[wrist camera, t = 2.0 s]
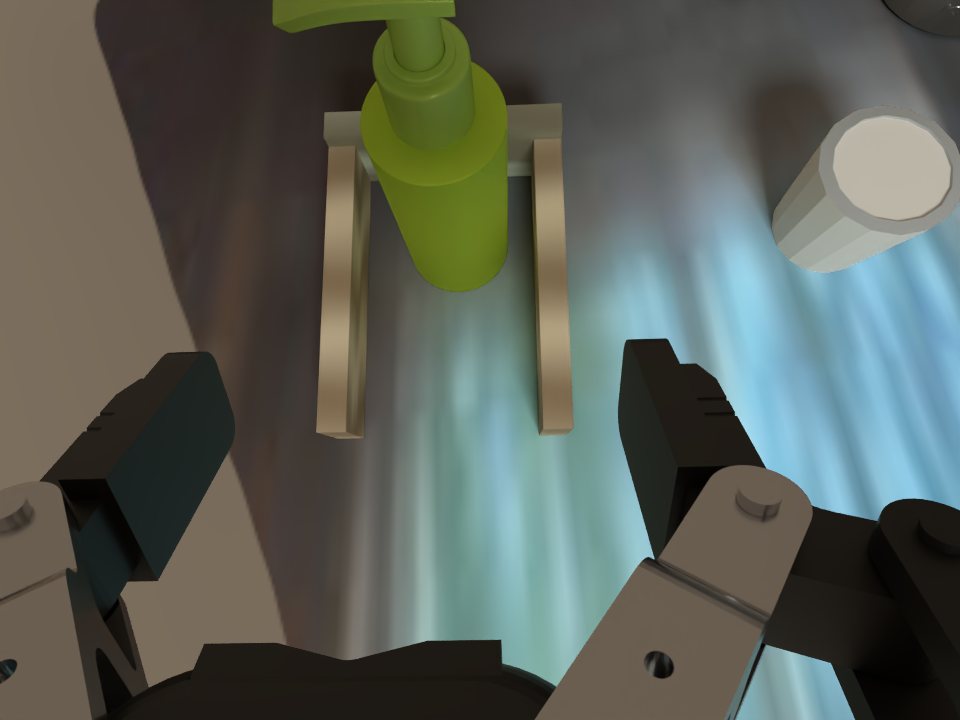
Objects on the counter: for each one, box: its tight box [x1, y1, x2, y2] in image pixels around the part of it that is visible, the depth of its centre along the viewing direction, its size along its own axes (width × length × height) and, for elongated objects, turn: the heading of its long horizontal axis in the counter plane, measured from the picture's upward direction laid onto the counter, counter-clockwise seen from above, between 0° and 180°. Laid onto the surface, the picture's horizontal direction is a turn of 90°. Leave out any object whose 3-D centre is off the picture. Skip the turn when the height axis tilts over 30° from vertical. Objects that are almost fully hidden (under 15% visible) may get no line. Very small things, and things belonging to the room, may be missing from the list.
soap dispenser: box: [273, 0, 508, 292], centre depth 27 cm, size 6×7×20 cm
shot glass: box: [772, 105, 960, 273], centre depth 33 cm, size 7×7×7 cm
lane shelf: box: [316, 103, 574, 438], centre depth 34 cm, size 18×13×5 cm
